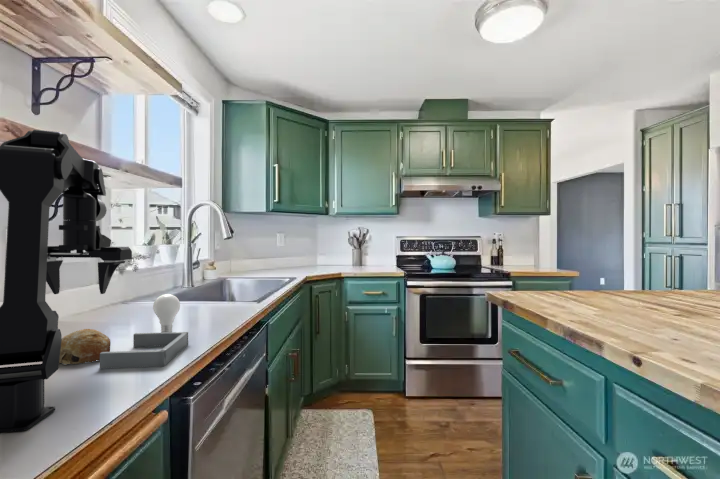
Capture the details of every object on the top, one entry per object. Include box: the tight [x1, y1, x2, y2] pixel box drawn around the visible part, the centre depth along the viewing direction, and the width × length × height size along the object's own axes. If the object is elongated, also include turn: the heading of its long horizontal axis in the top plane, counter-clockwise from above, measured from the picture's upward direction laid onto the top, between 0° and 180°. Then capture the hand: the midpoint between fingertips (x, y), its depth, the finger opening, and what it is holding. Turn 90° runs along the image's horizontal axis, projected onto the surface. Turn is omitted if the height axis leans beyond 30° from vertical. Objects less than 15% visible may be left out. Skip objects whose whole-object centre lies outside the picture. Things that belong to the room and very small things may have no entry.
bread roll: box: [59, 328, 111, 366], centre depth 83 cm, size 10×10×8 cm
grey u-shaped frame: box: [99, 331, 189, 369], centre depth 85 cm, size 16×12×3 cm
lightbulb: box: [152, 293, 181, 333], centre depth 101 cm, size 6×6×11 cm
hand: (79, 293), depth 82 cm, fingers open, 9 cm apart
